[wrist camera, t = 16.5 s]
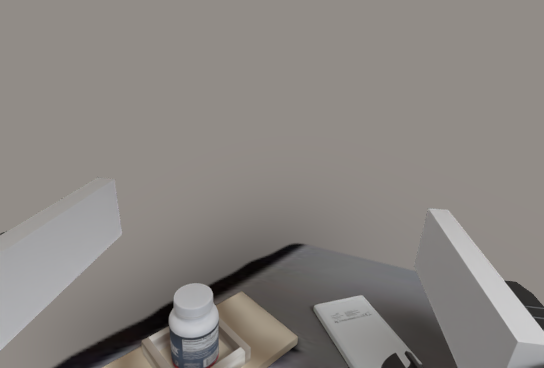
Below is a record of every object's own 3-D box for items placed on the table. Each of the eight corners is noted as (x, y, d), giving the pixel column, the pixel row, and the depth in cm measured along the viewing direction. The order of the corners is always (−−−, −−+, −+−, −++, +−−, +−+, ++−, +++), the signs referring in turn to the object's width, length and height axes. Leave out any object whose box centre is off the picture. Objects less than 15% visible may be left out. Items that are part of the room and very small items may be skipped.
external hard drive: (361, 391, 38) (312, 313, 49) (420, 372, 41) (361, 302, 51) (363, 381, 37) (313, 303, 48) (423, 362, 40) (363, 293, 51)
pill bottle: (171, 343, 40) (167, 281, 37) (216, 335, 42) (215, 275, 38) (171, 383, 36) (166, 316, 32) (221, 373, 37) (221, 308, 34)
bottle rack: (241, 297, 50) (242, 279, 49) (297, 344, 43) (299, 324, 42) (76, 390, 36) (71, 368, 34) (118, 483, 28) (113, 459, 27)
